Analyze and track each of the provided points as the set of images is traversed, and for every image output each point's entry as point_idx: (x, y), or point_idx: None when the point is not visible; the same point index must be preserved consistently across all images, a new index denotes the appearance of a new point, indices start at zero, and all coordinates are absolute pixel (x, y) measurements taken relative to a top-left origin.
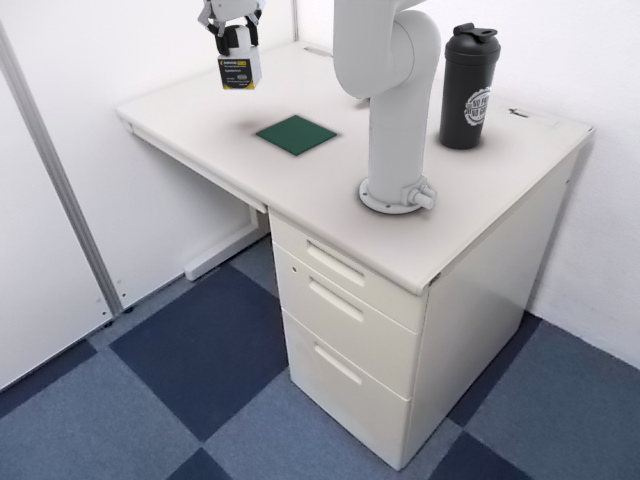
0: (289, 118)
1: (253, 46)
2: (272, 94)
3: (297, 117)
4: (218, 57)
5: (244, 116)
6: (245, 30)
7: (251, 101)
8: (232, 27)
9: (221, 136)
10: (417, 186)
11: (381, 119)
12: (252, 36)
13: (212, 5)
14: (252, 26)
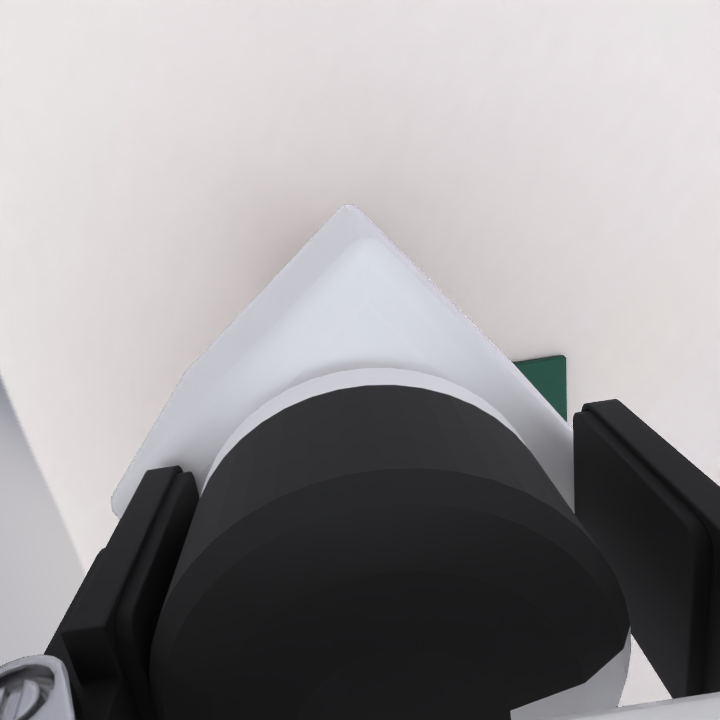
0: (520, 371)
1: (567, 501)
2: (663, 10)
3: (553, 386)
4: (119, 518)
5: (369, 177)
6: None
7: (509, 9)
8: None
9: (169, 304)
10: None
11: None
12: (619, 581)
13: None
14: (711, 690)
